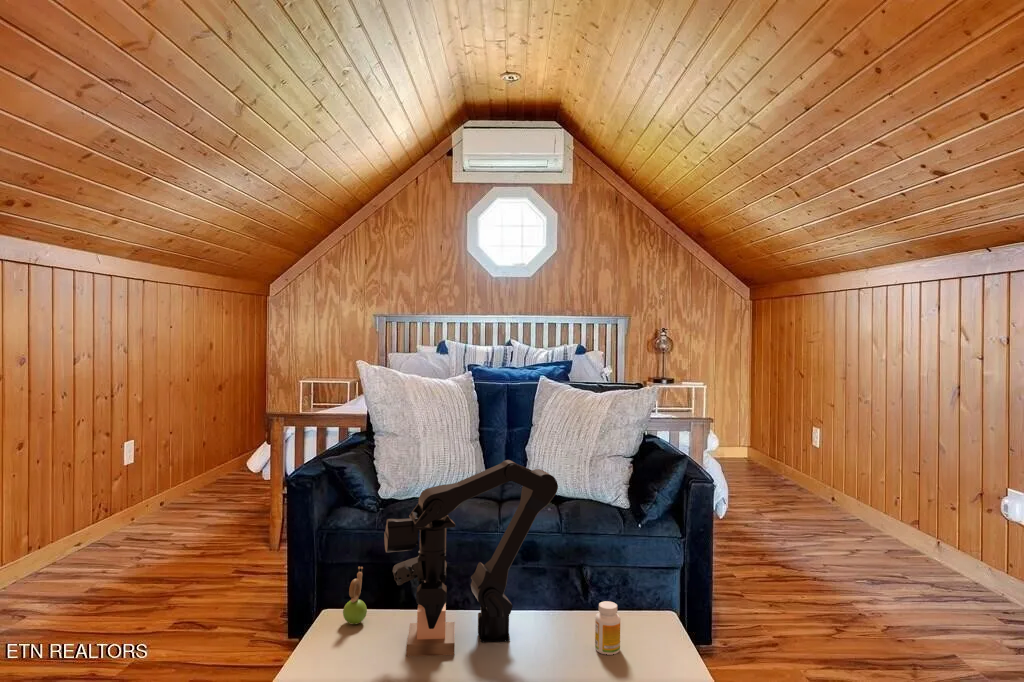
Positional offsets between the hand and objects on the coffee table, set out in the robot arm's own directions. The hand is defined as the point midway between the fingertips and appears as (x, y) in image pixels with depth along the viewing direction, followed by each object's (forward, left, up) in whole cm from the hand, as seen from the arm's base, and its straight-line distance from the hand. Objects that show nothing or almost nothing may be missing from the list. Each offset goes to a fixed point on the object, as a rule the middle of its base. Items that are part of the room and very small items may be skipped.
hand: (431, 618), depth 141 cm
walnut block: (0, 0, -6) cm, 6 cm away
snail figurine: (+18, -12, -6) cm, 22 cm away
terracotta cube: (0, 0, -3) cm, 3 cm away
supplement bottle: (-38, +5, -6) cm, 39 cm away
